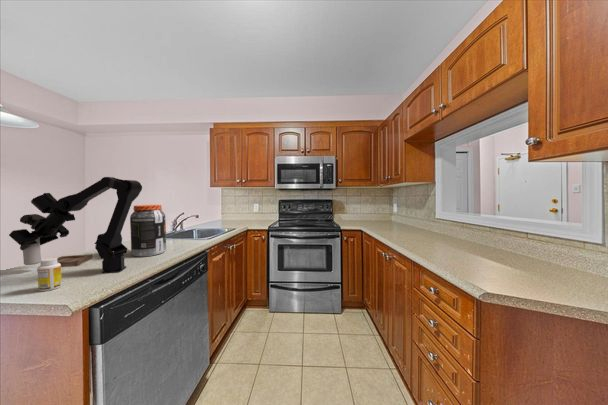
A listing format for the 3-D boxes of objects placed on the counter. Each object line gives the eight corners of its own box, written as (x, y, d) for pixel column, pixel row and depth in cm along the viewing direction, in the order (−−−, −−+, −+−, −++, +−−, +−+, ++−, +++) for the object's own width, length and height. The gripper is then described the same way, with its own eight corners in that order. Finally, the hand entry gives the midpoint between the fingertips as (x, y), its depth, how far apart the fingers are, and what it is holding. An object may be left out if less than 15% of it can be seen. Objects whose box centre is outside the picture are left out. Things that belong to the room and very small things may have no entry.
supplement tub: (172, 252, 131) (171, 205, 129) (140, 259, 118) (138, 206, 116) (157, 248, 139) (155, 203, 138) (125, 254, 126) (124, 205, 125)
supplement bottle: (61, 283, 86) (59, 256, 86) (62, 288, 83) (61, 258, 82) (38, 288, 82) (36, 259, 82) (38, 293, 79) (37, 262, 78)
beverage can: (29, 265, 97) (27, 236, 96) (20, 265, 98) (18, 235, 97) (44, 262, 101) (42, 234, 101) (35, 261, 102) (33, 233, 102)
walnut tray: (92, 258, 118) (92, 254, 118) (77, 265, 107) (77, 261, 107) (62, 260, 115) (62, 256, 115) (43, 268, 103) (43, 263, 103)
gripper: (60, 206, 108) (36, 230, 108) (12, 209, 89) (-17, 239, 89) (80, 223, 109) (56, 247, 109) (35, 230, 90) (7, 259, 90)
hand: (28, 248), depth 99 cm, fingers closed on beverage can, 5 cm apart
